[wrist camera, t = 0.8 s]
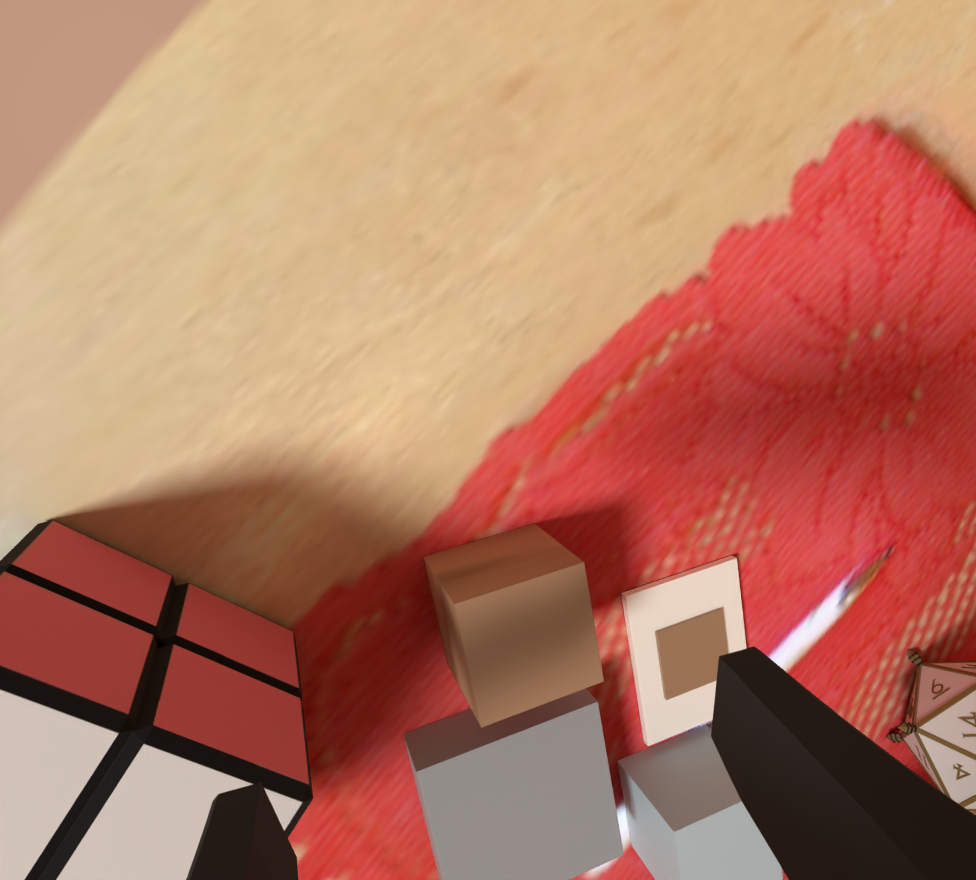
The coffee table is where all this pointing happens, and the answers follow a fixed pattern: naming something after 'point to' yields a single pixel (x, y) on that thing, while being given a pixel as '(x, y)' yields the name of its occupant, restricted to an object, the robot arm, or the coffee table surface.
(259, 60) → the coffee table surface
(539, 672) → the walnut block
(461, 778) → the slate base
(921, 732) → the game die
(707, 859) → the gray block
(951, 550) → the coffee table surface
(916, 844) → the robot arm
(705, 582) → the card
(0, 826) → the puzzle cube
